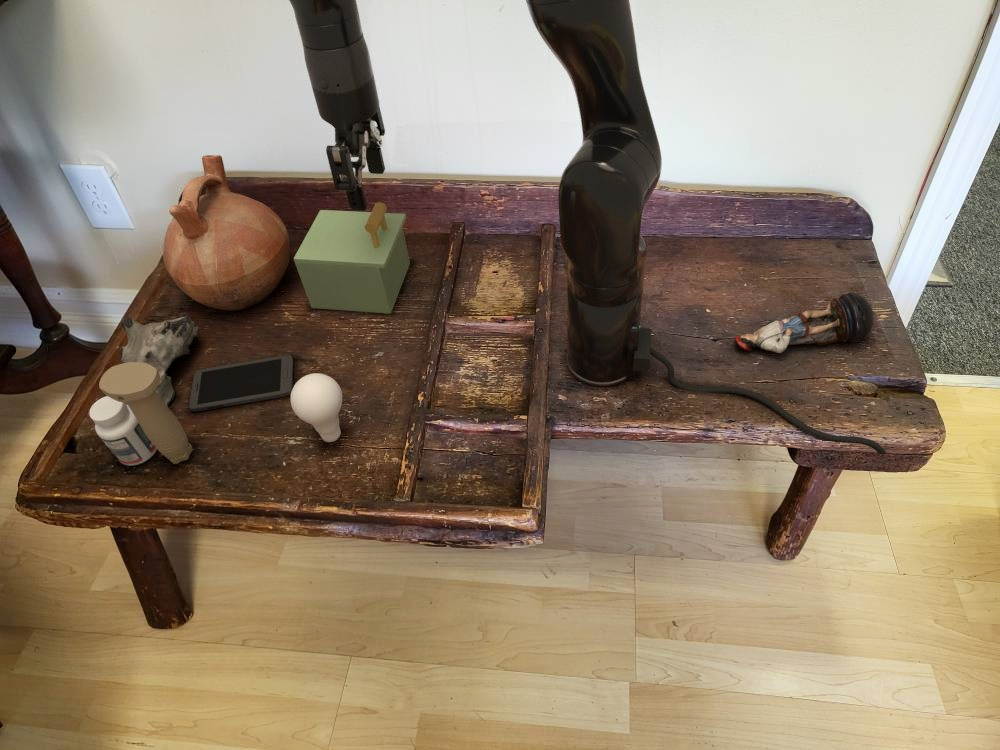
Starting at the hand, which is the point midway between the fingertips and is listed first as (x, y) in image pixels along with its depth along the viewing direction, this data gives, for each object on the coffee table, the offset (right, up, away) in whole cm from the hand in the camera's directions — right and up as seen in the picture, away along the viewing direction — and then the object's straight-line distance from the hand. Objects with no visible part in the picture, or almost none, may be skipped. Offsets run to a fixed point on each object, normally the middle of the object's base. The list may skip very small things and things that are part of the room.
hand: (368, 190), depth 99 cm
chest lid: (-4, -5, +7) cm, 10 cm away
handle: (-23, -36, -5) cm, 43 cm away
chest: (-4, -11, +14) cm, 18 cm away
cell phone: (-18, -27, +2) cm, 32 cm away
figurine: (+58, -20, 0) cm, 62 cm away
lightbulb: (-4, -33, -5) cm, 34 cm away
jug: (-23, -11, +16) cm, 30 cm away
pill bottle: (-29, -35, -4) cm, 46 cm away
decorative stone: (-30, -24, +5) cm, 39 cm away
